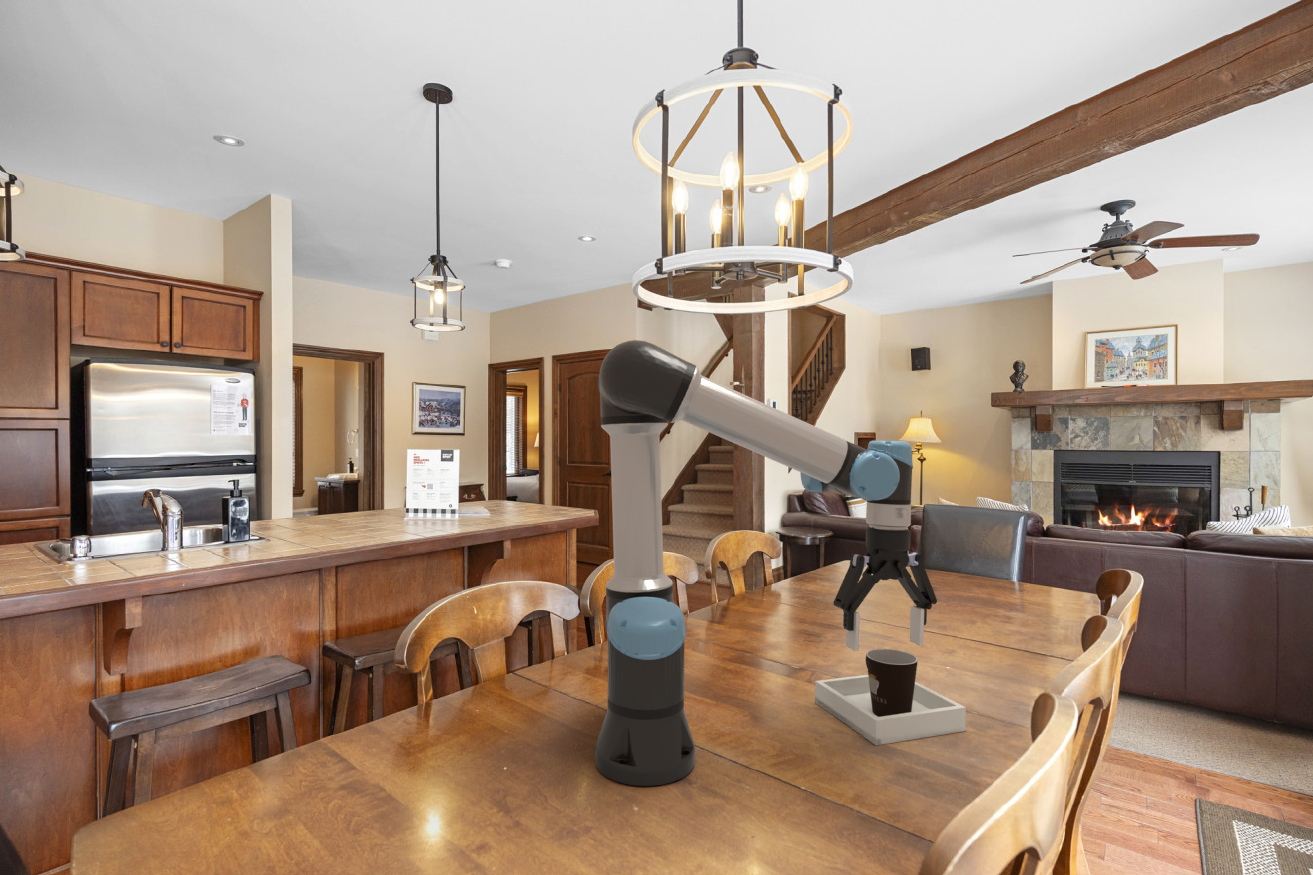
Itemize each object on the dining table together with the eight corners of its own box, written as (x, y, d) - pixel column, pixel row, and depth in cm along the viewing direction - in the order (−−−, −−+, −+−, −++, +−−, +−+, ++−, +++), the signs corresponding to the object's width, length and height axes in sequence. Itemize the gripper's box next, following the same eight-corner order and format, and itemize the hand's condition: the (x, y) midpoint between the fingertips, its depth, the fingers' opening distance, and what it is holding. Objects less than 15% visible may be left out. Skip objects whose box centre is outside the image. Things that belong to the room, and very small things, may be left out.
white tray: (876, 745, 104) (876, 720, 104) (815, 702, 121) (815, 680, 121) (965, 730, 109) (965, 707, 109) (895, 691, 126) (895, 671, 127)
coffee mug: (922, 725, 109) (922, 666, 109) (868, 721, 111) (868, 662, 111) (909, 699, 120) (910, 645, 120) (861, 695, 122) (861, 642, 122)
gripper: (840, 530, 108) (836, 657, 108) (960, 528, 116) (957, 647, 116) (815, 524, 115) (812, 644, 115) (930, 523, 123) (927, 635, 123)
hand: (884, 646), depth 115 cm, fingers open, 13 cm apart
